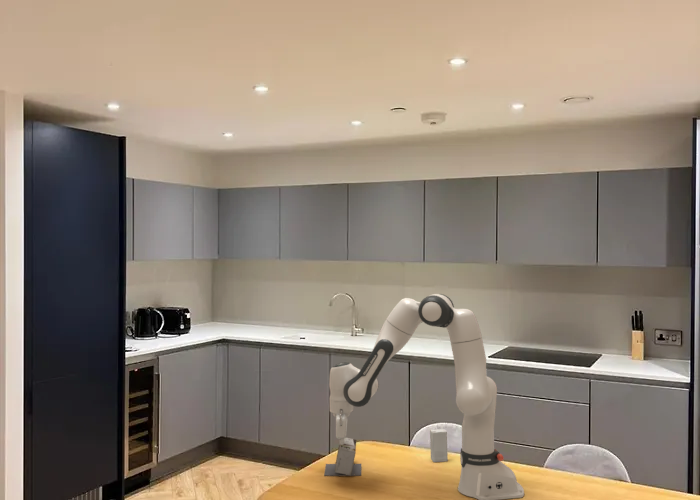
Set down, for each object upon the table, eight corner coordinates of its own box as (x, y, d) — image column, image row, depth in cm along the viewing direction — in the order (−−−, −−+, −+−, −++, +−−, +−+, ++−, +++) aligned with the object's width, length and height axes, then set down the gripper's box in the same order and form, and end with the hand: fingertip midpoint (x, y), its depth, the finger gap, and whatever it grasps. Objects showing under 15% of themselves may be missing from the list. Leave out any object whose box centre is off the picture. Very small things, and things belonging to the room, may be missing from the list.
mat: (361, 464, 248) (361, 463, 248) (361, 475, 236) (361, 474, 236) (325, 464, 248) (325, 463, 248) (324, 476, 236) (324, 474, 236)
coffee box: (356, 452, 235) (356, 439, 251) (339, 448, 235) (340, 435, 251) (351, 476, 235) (351, 461, 251) (334, 472, 235) (336, 457, 251)
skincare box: (444, 458, 254) (444, 428, 254) (448, 461, 250) (447, 431, 250) (429, 459, 253) (429, 429, 253) (433, 462, 249) (432, 432, 249)
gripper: (349, 413, 224) (349, 452, 224) (350, 399, 244) (350, 435, 245) (331, 413, 224) (332, 452, 224) (334, 399, 245) (334, 435, 245)
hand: (341, 443), depth 235 cm, fingers closed
